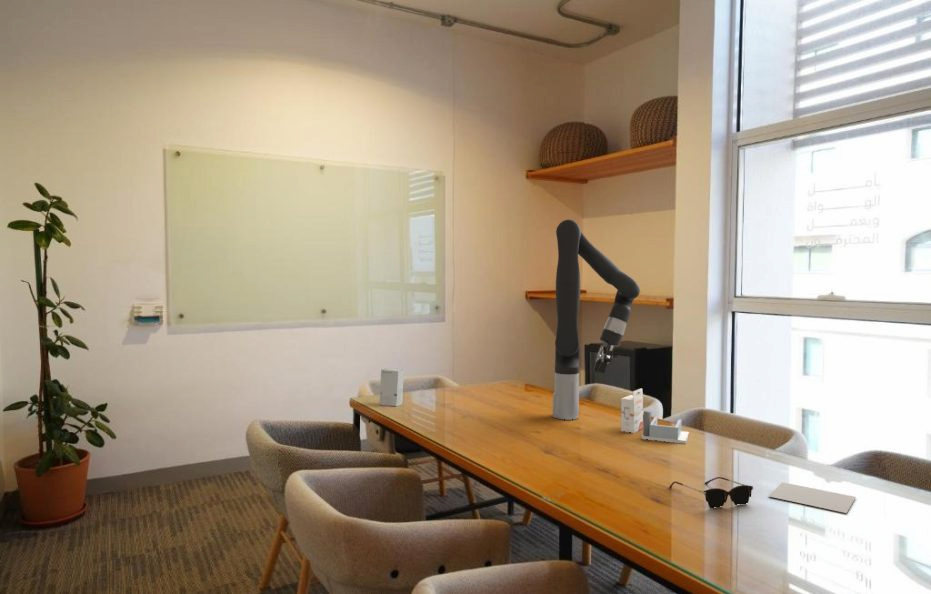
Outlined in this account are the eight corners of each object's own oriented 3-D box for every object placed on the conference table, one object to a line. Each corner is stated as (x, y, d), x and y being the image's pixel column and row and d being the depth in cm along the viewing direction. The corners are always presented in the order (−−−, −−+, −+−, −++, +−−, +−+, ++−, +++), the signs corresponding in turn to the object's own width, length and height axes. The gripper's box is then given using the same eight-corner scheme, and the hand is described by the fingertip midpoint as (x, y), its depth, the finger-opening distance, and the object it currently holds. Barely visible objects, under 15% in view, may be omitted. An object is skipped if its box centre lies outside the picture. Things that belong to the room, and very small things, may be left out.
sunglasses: (705, 511, 146) (704, 490, 147) (664, 492, 162) (664, 473, 162) (753, 505, 150) (753, 484, 150) (709, 488, 166) (709, 469, 166)
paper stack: (790, 476, 173) (790, 473, 173) (900, 497, 157) (900, 494, 157) (768, 498, 155) (768, 496, 155) (889, 525, 139) (889, 522, 139)
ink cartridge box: (629, 426, 227) (630, 386, 227) (643, 429, 224) (643, 388, 224) (620, 431, 220) (620, 389, 220) (633, 433, 217) (634, 391, 217)
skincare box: (379, 405, 260) (379, 369, 260) (386, 402, 266) (386, 367, 266) (397, 406, 258) (397, 370, 257) (403, 404, 263) (404, 368, 263)
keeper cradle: (641, 438, 210) (642, 412, 210) (646, 430, 222) (647, 405, 222) (685, 443, 204) (686, 416, 204) (688, 434, 216) (689, 408, 216)
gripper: (599, 328, 241) (584, 368, 240) (608, 327, 227) (592, 369, 226) (617, 336, 241) (603, 375, 240) (628, 334, 227) (612, 376, 225)
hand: (598, 372), depth 233 cm, fingers open, 8 cm apart
